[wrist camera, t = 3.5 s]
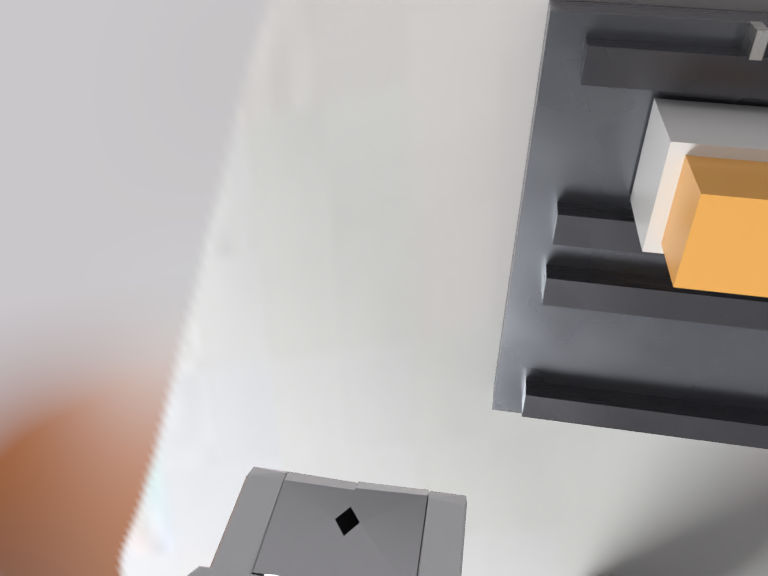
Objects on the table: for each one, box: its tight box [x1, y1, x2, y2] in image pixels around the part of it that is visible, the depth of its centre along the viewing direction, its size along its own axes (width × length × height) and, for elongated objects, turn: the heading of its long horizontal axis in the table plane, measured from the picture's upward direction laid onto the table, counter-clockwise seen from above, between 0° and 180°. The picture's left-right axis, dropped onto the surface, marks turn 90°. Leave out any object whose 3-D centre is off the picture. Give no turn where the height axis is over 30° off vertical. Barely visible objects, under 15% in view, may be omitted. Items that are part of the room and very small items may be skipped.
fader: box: [630, 98, 768, 297], centre depth 18 cm, size 4×3×5 cm
